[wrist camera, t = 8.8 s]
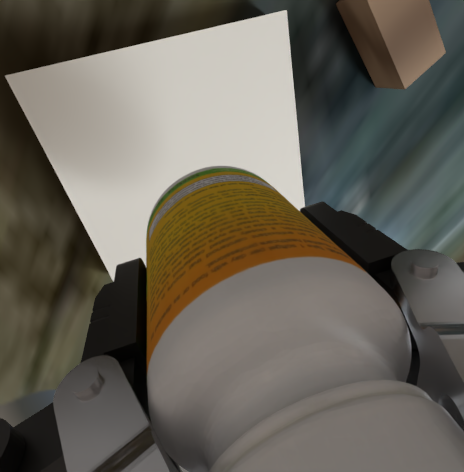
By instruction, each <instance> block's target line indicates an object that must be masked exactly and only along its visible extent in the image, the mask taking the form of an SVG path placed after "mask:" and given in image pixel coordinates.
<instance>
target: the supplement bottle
mask: <svg viewBox="0 0 464 472" xmlns="http://www.w3.org/2000/svg"><path fill="white" fill-rule="evenodd" d="M146 268H147V284H146V296H147V297H146V301H147V390H148V407H149V415H150V419H151V423H152V426H153V428H154V430H155V432H156V434H157V436H158V438H159V440H160V442H161V444H162V446H163V447H164V449H165V451H166V452H167V454H168V455H169V456H170V457H171V458H172V459H173V460H174V461H175V462H176V463H177V464H179V465H180V466H181V467H183V468H184V469H186V470H187V471H189V472H464V431H463V430H462V429H461V428H460V426H459V425H458V424H457V423H456V421H455V420H454V419H453V418H452V416H451V415H450V414H449V413H448V412H447V411H446V410H445V409H444V408H443V407H442V406H441V405H439V404H437V403H436V402H434V401H433V400H432V399H431V398H430V397H429V395H428V394H427V393H426V392H424V391H423V390H421V389H420V388H418V387H416V386H414V385H412V384H409V383H406V380H407V376H408V373H409V370H410V364H411V340H410V334H409V329H408V327H407V324H406V321H405V318H404V316H403V314H402V312H401V310H400V309H399V307H398V306H397V304H396V303H395V301H394V300H393V299H392V298H391V296H390V295H389V294H388V293H387V292H386V291H385V290H384V289H383V288H382V287H381V286H380V285H379V284H378V283H377V282H376V281H375V280H374V279H373V278H372V277H371V276H370V275H369V274H368V273H367V272H366V271H365V270H364V269H363V268H362V267H361V266H360V265H358V264H357V263H356V262H355V261H354V260H353V259H352V258H351V257H349V256H348V255H347V254H346V253H345V252H344V251H343V250H342V249H340V248H339V247H338V246H337V245H336V244H335V243H334V242H333V241H332V240H331V239H329V238H328V237H327V236H326V235H325V234H324V233H323V232H322V231H321V230H320V229H318V228H317V227H316V226H315V225H314V224H313V223H312V222H311V221H310V220H309V219H307V218H306V217H305V216H304V215H303V214H302V213H301V212H300V211H299V210H298V209H297V208H296V207H294V206H293V205H292V204H291V203H290V202H289V201H288V200H287V199H286V198H285V197H284V196H283V195H281V194H280V193H279V192H278V191H277V190H276V189H275V188H274V187H272V186H271V185H270V184H269V183H268V182H266V181H265V180H264V179H262V178H261V177H259V176H258V175H256V174H254V173H252V172H250V171H247V170H244V169H241V168H237V167H232V166H211V167H205V168H202V169H199V170H196V171H193V172H191V173H189V174H187V175H185V176H183V177H181V178H180V179H178V180H177V181H175V182H174V183H173V184H172V185H171V186H169V187H168V188H167V189H166V190H165V191H164V193H163V194H162V195H161V196H160V198H159V199H158V201H157V202H156V204H155V206H154V208H153V210H152V212H151V215H150V217H149V221H148V225H147V234H146Z"/></svg>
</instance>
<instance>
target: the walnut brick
mask: <svg viewBox="0 0 464 472" xmlns="http://www.w3.org/2000/svg"><path fill="white" fill-rule="evenodd" d="M336 6H337V8H338V10H339V12H340V14H341V16H342V18H343V20H344V22H345V25H346V27H347V29H348V31H349V33H350V35H351V37H352V39H353V41H354V43H355V45H356V47H357V49H358V51H359V54H360V56H361V58H362V60H363V62H364V64H365V66H366V68H367V70H368V72H369V74H370V76H371V78H372V81H373V83H374V85H375V87H378V88H393V89H406V88H407V87H408V86H409V85H410V84H412V83H413V82H414V81H415V80H416V79H417V78H418V77H419V76H420V75H422V74H423V73H424V72H425V71H426V70H427V69H428V68H429V67H430V66H432V65H433V64H434V63H435V62H436V61H437V60H438V59H439V58H440V57H442V56H443V55H444V54H445V53H446V52H445V48H444V45H443V42H442V39H441V36H440V33H439V30H438V27H437V24H436V21H435V18H434V15H433V11H432V8H431V5H430V2H429V0H339V1H338V2H337V3H336Z"/></svg>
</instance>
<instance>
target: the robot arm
mask: <svg viewBox="0 0 464 472" xmlns="http://www.w3.org/2000/svg"><path fill="white" fill-rule="evenodd" d="M300 212H301V213H302V214H303V215H304V216H305V217H306V218H307V219H309V220H310V221H311V222H312V223H313V224H314V225H315V226H316V227H317V228H318V229H320V230H321V231H322V232H323V233H324V234H325V235H326V236H327V237H328V238H329V239H331V240H332V241H333V242H334V243H335V244H336V245H337V246H338V247H339V248H340V249H342V250H343V251H344V252H345V253H346V254H347V255H348V256H349V257H351V258H352V259H353V260H354V261H355V262H356V263H357V264H358V265H360V266H361V267H362V268H363V269H364V270H365V271H366V272H367V273H368V274H369V275H370V276H371V277H372V278H373V279H374V280H375V281H376V282H377V283H378V284H379V285H380V286H381V287H382V288H383V289H384V290H385V291H386V292H387V293H388V294H389V295H390V296H391V298H392V299H393V300H394V301H395V303H396V304H397V306H398V307H399V309H400V310H401V312H402V314H403V316H404V318H405V321H406V324H407V327H408V329H409V334H410V340H411V364H410V370H409V373H408V376H407V380H406V383H409V384H412V385H414V386H416V387H418V388H420V389H421V390H423V391H424V392H426V393H427V394H428V395H429V397H430V398H431V399H432V400H433V401H434V402H436V403H437V404H439V405H441V406H442V407H443V408H444V409H445V410H446V411H447V412H448V413H449V414H450V415H451V416H452V418H453V419H454V420H455V421H456V423H457V424H458V425H459V426H460V428H461V429H462V430H463V431H464V262H460V263H456V262H455V261H454V260H452V259H451V258H449V257H448V256H446V255H444V254H441V253H438V252H435V251H430V250H422V249H414V250H407V249H405V248H404V247H402V246H401V245H399V244H398V243H397V242H395V241H394V240H392V239H391V238H389V237H388V236H386V235H385V234H383V233H382V232H380V231H379V230H376V229H375V228H374V227H373V226H371V225H370V224H367V222H366V221H364V220H363V219H361V218H360V217H358V216H357V215H354V214H351V213H348V212H344V211H338V212H337V211H336V210H334V209H333V208H331V207H330V206H329V205H327V204H326V203H324V202H319V203H316V204H312V205H309V206H306V207H303V208H301V209H300ZM146 284H147V268H146V266H145V264H144V262H143V260H142V259H141V258H137V259H134V260H131V261H128V262H124V263H121V264H118V265H117V266H116V272H115V278H114V282H112V283H109V284H106V285H104V286H103V288H102V289H101V291H100V292H99V293H98V295H97V296H96V298H95V302H94V306H93V313H92V315H91V320H90V322H91V324H89V329H88V333H87V338H86V342H85V347H84V351H83V356H82V360H81V363H80V364H79V365H77V366H76V367H75V368H73V369H72V370H71V371H70V372H69V373H68V374H67V375H66V376H65V377H64V379H63V380H62V381H61V383H60V384H59V386H58V388H57V390H56V392H55V395H54V400H53V403H51V404H50V405H48V406H47V407H45V408H44V409H42V410H40V411H39V412H37V413H36V414H34V415H33V416H31V417H29V418H28V419H26V420H25V421H23V422H21V423H20V424H18V425H17V426H15V427H12V426H11V425H10V424H9V423H8V422H7V421H6V420H4V419H0V472H182V470H181V468H180V466H179V464H177V463H176V462H175V461H174V460H173V459H172V458H171V457H170V456H169V455H168V454H167V452H166V451H165V449H164V447H163V446H162V444H161V442H160V440H159V438H158V436H157V434H156V432H155V430H154V428H153V426H152V423H151V419H150V415H149V407H148V390H147V301H146V297H147V296H146Z"/></svg>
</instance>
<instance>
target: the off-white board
mask: <svg viewBox="0 0 464 472" xmlns="http://www.w3.org/2000/svg"><path fill="white" fill-rule="evenodd" d="M5 77H6V79H7V81H8V83H9V85H10V87H11V89H12V91H13V93H14V94H15V96H16V98H17V100H18V102H19V104H20V106H21V108H22V110H23V111H24V113H25V115H26V117H27V119H28V121H29V123H30V125H31V127H32V128H33V130H34V132H35V134H36V136H37V138H38V140H39V142H40V144H41V146H42V147H43V149H44V151H45V153H46V155H47V157H48V159H49V161H50V163H51V164H52V166H53V168H54V170H55V172H56V174H57V176H58V178H59V180H60V181H61V183H62V185H63V187H64V189H65V191H66V193H67V195H68V197H69V198H70V200H71V202H72V204H73V206H74V208H75V210H76V212H77V214H78V216H79V217H80V219H81V221H82V223H83V225H84V227H85V229H86V231H87V233H88V234H89V236H90V238H91V240H92V242H93V244H94V246H95V248H96V250H97V251H98V253H99V255H100V257H101V259H102V261H103V263H104V265H105V267H106V268H107V270H108V272H109V274H110V276H111V278H112V280H113V282H114V278H115V272H116V266H117V265H118V264H121V263H124V262H128V261H131V260H134V259H137V258H141V259H142V260H143V262H144V264H145V266H146V234H147V225H148V221H149V217H150V215H151V212H152V210H153V208H154V206H155V204H156V202H157V201H158V199H159V198H160V196H161V195H162V194H163V193H164V191H165V190H166V189H167V188H168V187H169V186H171V185H172V184H173V183H174V182H175V181H177V180H178V179H180V178H181V177H183V176H185V175H187V174H189V173H191V172H193V171H196V170H199V169H202V168H205V167H211V166H232V167H237V168H241V169H244V170H247V171H250V172H252V173H254V174H256V175H258V176H259V177H261V178H262V179H264V180H265V181H266V182H268V183H269V184H270V185H271V186H272V187H274V188H275V189H276V190H277V191H278V192H279V193H280V194H281V195H283V196H284V197H285V198H286V199H287V200H288V201H289V202H290V203H291V204H292V205H293V206H294V207H296V208H297V209H298V210H299V211H300V209H301V208H303V207H305V203H304V192H303V181H302V171H301V160H300V149H299V138H298V128H297V117H296V106H295V95H294V85H293V74H292V63H291V52H290V41H289V31H288V20H287V10H285V11H280V12H276V13H272V14H267V15H263V16H259V17H255V18H250V19H246V20H242V21H237V22H233V23H229V24H225V25H220V26H216V27H212V28H207V29H203V30H199V31H195V32H190V33H186V34H182V35H177V36H173V37H169V38H164V39H160V40H156V41H152V42H147V43H143V44H139V45H134V46H130V47H126V48H122V49H117V50H113V51H109V52H104V53H100V54H96V55H92V56H87V57H83V58H79V59H74V60H70V61H66V62H61V63H57V64H53V65H49V66H44V67H40V68H36V69H31V70H27V71H23V72H19V73H14V74H10V75H6V76H5Z"/></svg>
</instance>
